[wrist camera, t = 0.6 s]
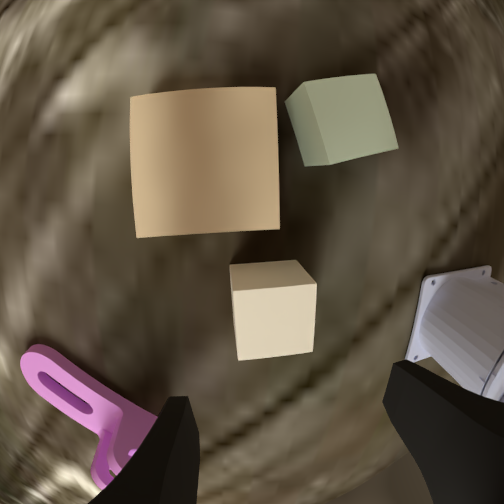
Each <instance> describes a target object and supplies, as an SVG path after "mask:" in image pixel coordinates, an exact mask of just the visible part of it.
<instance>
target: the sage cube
mask: <svg viewBox="0 0 504 504" xmlns="http://www.w3.org/2000/svg"><path fill="white" fill-rule="evenodd" d="M285 105H286V108H287V111H288V114H289V117H290V120H291V123H292V126H293V129H294V133H295V136H296V139H297V142H298V145H299V149H300V152H301V155H302V159H303V162H304V166H318V165H331V164H335V163H339V162H343V161H347V160H351V159H355V158H359V157H363V156H367V155H372V154H376V153H380V152H385V151H389V150H394V149H398V144H397V140H396V136H395V132H394V129H393V125H392V121H391V118H390V115H389V111H388V108H387V105H386V102H385V99H384V96H383V93H382V90H381V87H380V84H379V81H378V78H377V76H376V74H363V75H352V76H342V77H334V78H326V79H319V80H313V81H306V82H303V83H302V84H301V85H300V86H299V87H298V88H297V89H296V90H295V91H294V92H293V93H292V94H291V95H290V97H289V98H288V99H287V100H286V101H285Z"/></svg>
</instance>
